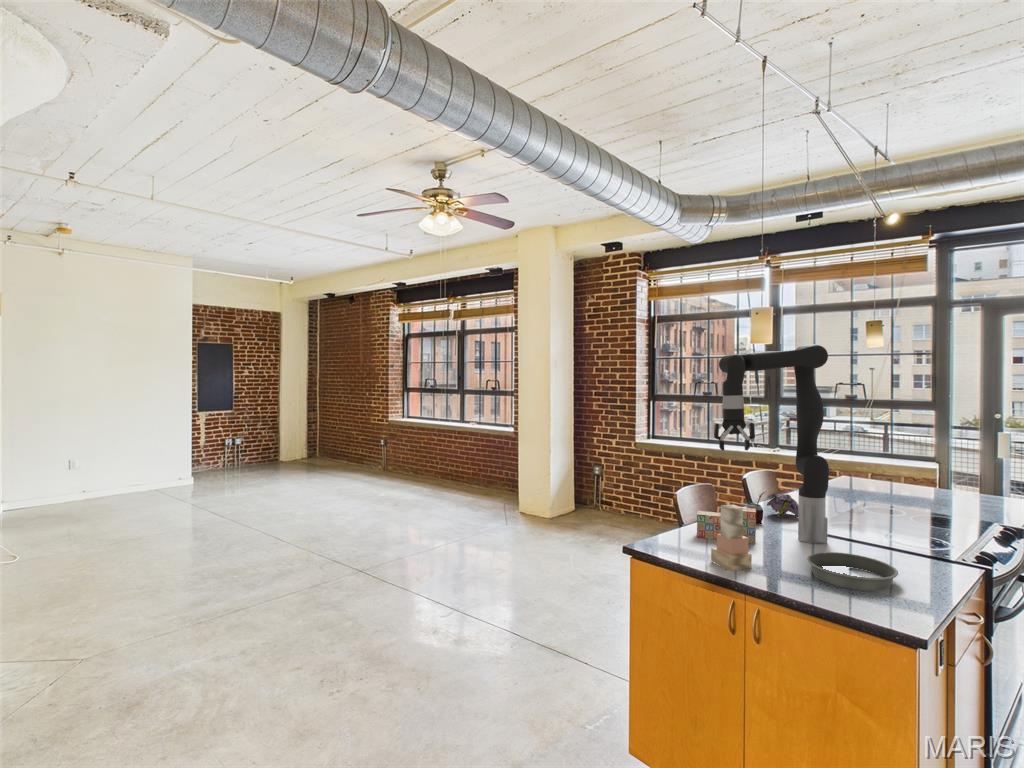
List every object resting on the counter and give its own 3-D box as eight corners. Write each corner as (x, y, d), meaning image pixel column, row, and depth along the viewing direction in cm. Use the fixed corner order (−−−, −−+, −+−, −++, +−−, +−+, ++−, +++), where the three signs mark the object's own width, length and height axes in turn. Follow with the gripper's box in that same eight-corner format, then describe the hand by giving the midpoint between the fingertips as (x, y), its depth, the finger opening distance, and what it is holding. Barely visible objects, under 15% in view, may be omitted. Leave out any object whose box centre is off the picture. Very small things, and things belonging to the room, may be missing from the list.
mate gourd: (744, 520, 245) (744, 486, 245) (764, 522, 243) (764, 487, 242) (746, 525, 238) (746, 490, 238) (766, 526, 236) (766, 491, 235)
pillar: (733, 533, 191) (733, 504, 191) (742, 537, 186) (742, 507, 186) (720, 534, 190) (720, 505, 190) (729, 538, 185) (729, 508, 185)
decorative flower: (811, 497, 247) (779, 488, 246) (808, 523, 244) (776, 514, 243) (791, 499, 261) (761, 490, 260) (788, 524, 258) (758, 515, 257)
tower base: (733, 560, 194) (734, 545, 194) (751, 569, 185) (751, 554, 185) (711, 562, 192) (711, 548, 192) (727, 571, 183) (727, 556, 183)
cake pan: (900, 599, 160) (900, 584, 160) (803, 582, 173) (803, 568, 173) (896, 573, 181) (896, 559, 181) (810, 560, 194) (810, 547, 194)
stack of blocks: (696, 537, 220) (696, 506, 220) (697, 533, 226) (697, 503, 226) (755, 544, 212) (756, 511, 212) (755, 539, 218) (755, 507, 218)
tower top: (733, 546, 193) (733, 532, 193) (748, 552, 186) (748, 537, 186) (716, 548, 191) (716, 534, 191) (730, 554, 184) (731, 539, 184)
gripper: (715, 408, 209) (717, 451, 209) (755, 407, 207) (757, 451, 207) (711, 407, 217) (712, 449, 217) (750, 406, 215) (751, 449, 215)
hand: (734, 450), depth 212 cm, fingers open, 8 cm apart
